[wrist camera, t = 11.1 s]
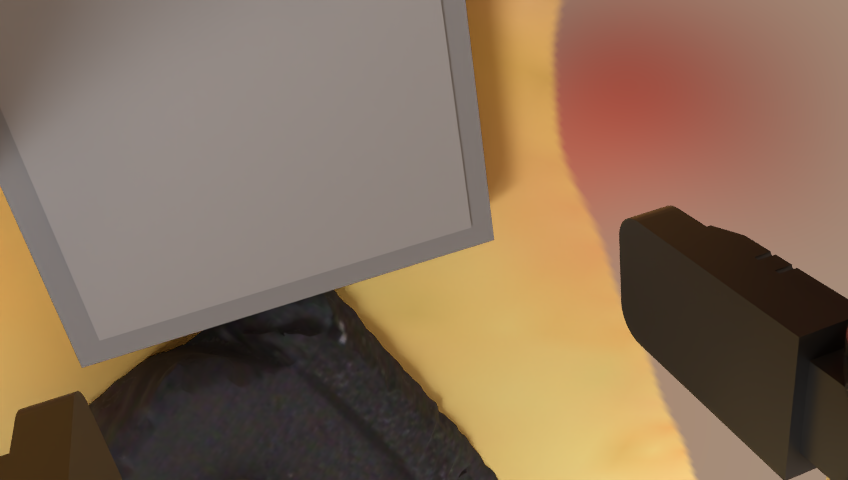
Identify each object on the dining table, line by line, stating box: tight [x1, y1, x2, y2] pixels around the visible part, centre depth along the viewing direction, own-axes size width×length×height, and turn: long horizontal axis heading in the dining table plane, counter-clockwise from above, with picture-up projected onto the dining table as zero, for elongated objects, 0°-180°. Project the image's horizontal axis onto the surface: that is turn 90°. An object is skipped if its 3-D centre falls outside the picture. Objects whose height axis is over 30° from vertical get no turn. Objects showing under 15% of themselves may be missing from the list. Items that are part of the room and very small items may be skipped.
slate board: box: [0, 0, 494, 368], centre depth 24 cm, size 14×14×2 cm
